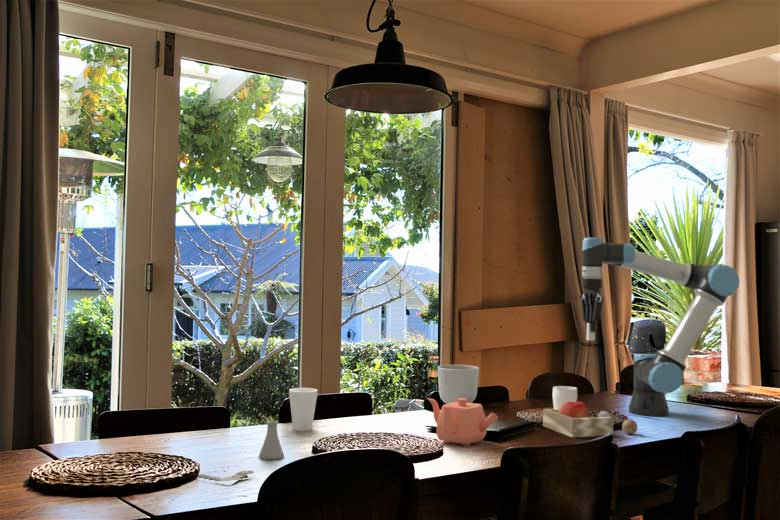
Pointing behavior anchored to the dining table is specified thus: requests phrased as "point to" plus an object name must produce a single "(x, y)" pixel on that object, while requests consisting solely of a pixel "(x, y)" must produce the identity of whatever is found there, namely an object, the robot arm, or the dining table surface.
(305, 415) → the foam cup
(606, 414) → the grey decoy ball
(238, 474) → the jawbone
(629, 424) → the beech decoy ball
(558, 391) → the cup
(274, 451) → the flask
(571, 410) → the apple
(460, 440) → the teapot
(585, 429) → the beige shallow open box
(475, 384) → the planter
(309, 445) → the dining table surface
